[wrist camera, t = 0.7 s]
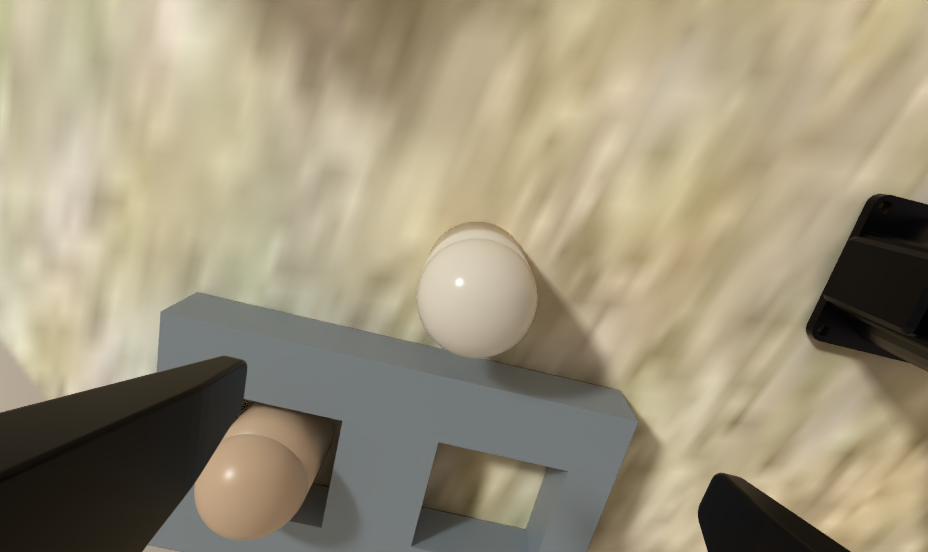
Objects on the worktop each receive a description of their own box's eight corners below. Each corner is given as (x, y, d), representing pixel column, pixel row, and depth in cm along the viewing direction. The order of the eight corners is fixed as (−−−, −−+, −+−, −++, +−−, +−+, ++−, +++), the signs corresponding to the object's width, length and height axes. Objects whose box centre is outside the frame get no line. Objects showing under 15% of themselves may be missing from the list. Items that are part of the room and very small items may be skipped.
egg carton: (620, 390, 22) (670, 476, 16) (547, 582, 25) (568, 708, 19) (196, 292, 21) (95, 346, 15) (178, 504, 24) (89, 612, 19)
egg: (538, 235, 20) (563, 271, 14) (511, 327, 21) (524, 394, 16) (439, 210, 20) (425, 237, 14) (417, 305, 21) (396, 364, 15)
